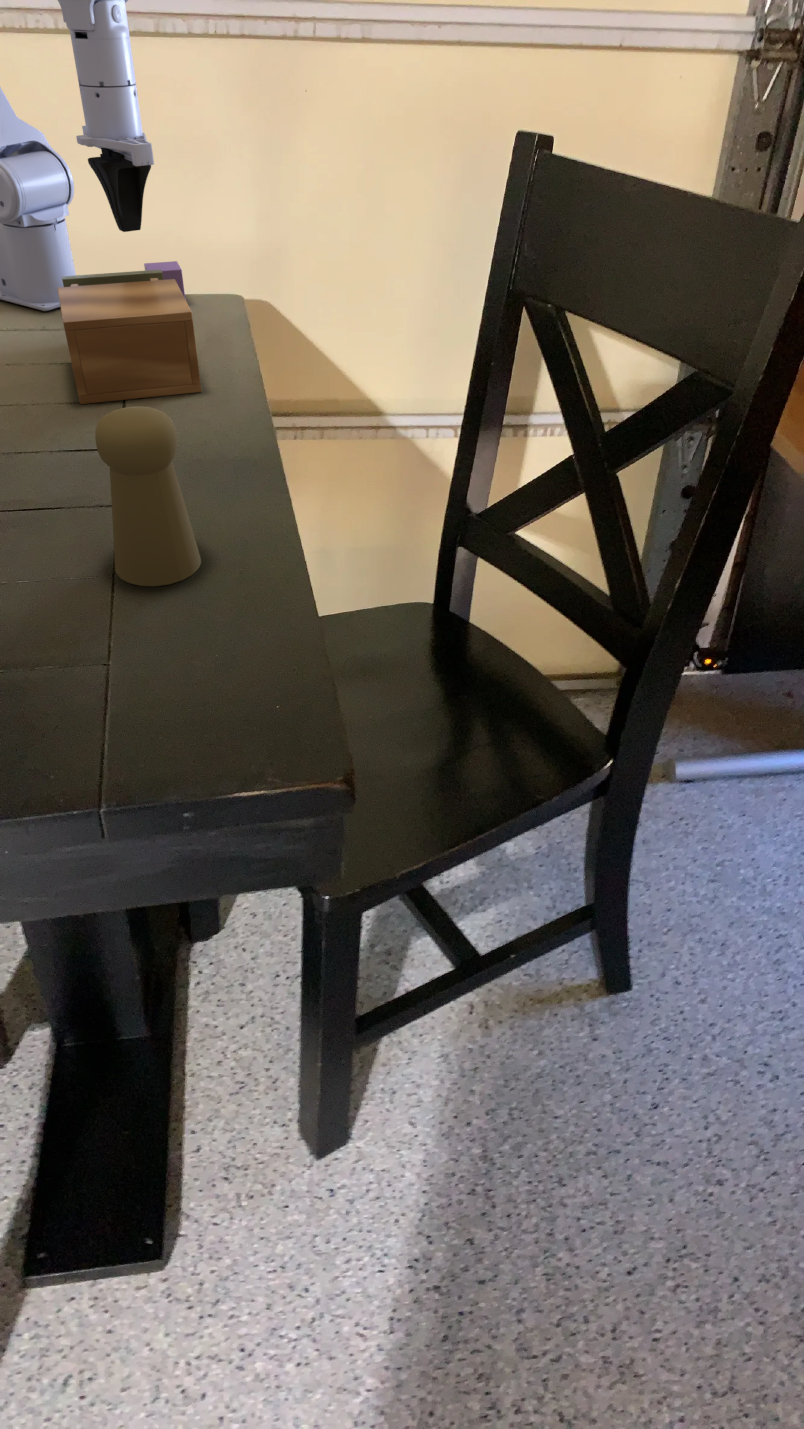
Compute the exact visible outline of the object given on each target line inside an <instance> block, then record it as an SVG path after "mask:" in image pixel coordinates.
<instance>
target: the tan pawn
mask: <svg viewBox="0 0 804 1429" xmlns="http://www.w3.org/2000/svg"><path fill="white" fill-rule="evenodd" d="M177 432H178V431H177V428H176V427H175V423H174V422H173V420H172V419H171V418H170V416H169V415H167V413H165V412H164V411H161V410H160V409H157V408H154V407H149V406H136V405H135V406H126V407H122V408H117V409H114V410H112V411H110V412H108V413H107V414H105V415H104V416H102V417H101V418H100V419H99V421H98V423H97V424H96V427H95V433H94V434H95V435H94V439H95V440H94V441H95V446H96V451H97V453H98V455H99V457H100V460H102V462H103V463H104V464H106V466H108V468H109V481H110V500H111V516H112V517H111V518H112V535H113V536H112V537H113V555H114V571H115V574H116V575H117V577H118V578H119V579H120V580H122V581H124V582H126V583H128V584H131V585H136V586H140V587H161V586H167V585H172V584H175V583H178V582H181V581H184V580H185V579H187V578H189V577H191V576H193V575H194V574H195V573H196V572H197V571H198V570H199V569H200V566H201V564H202V558H201V554H200V551H199V547H198V544H197V541H196V538H195V533H194V530H193V527H192V523H191V520H190V517H189V514H188V513H189V512H188V510H187V507H186V503H185V500H184V496H183V493H182V490H181V487H180V483H179V480H178V475H177V472H176V469H175V465H174V462H173V460H174V459H175V457H176V455H177V453H178V448H179V438H178V433H177Z"/></svg>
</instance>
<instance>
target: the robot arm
mask: <svg viewBox="0 0 804 1429" xmlns="http://www.w3.org/2000/svg"><path fill="white" fill-rule="evenodd" d="M128 1H129V0H57V2H58V4H59V6H60V9H61V15H62V19H63V23H65V24H66V28H67V29H68V30H69V33H70V35H69V36H70V40H71V41H70V42H71V46H72V47H71V48H72V52H73V58H74V64H75V69H76V71H75V72H76V75H77V82H78V88H79V95H80V98H81V99H80V100H81V106H82V111H83V117H84V118H83V119H84V124H85V125H81V130H82V133H83V134H80V135H76V136H75V138H76V142H77V144H78V145H81V146H85V147H87V148H93V147H95V148H97V149H100V150H101V151H100V152H101V153H100V154H99V156H92V157H89V158H87V162H88V165H89V166H90V168H91V169H92V171H93V172H94V174H95V176H96V177H97V179H98V181H99V183H100V185H101V187H102V190H103V191H104V194H105V197H106V199H107V202H108V204H109V207H110V210H111V213H112V216H113V219H114V221H115V224H116V226H117V228H118V230H119V231H120V232H122V233H127V232H135V231H140V230H141V229H142V222H143V221H142V220H143V204H144V203H143V202H144V195H145V188H146V184H147V179H148V177H149V173H150V171H151V169H152V166H153V165H155V160H154V159H155V158H154V152H153V146H152V145H153V144H152V142H149V141H148V140H147V136H146V133H145V132H144V131H143V125H142V117H141V116H142V115H141V110H140V103H139V95H138V89H137V81H136V71H135V64H134V58H133V52H132V51H133V50H132V44H131V36H130V28H129V21H128V14H127V7H126V4H127V3H128ZM72 174H73V173H72V171H71V168H70V167H69V165H68V163H67V162H66V161H65V159H64V158H63V157H62V155H61V154H59V153H58V152H57V151H56V150H55V149H54V148H53V147H52V146H51V144H50V142H49V141H48V140H47V138H46V136H45V134H44V133H43V132H42V131H41V130H39V129H37V128H36V127H34V126H33V125H31V124H29V123H27V122H25V121H24V120H23V119H21V118H19V117H18V116H17V114H16V112H15V110H14V108H13V107H12V105H11V103H10V101H9V100H8V98H7V96H6V94H5V93H4V91H3V88H2V87H1V86H0V301H5V302H9V303H13V304H15V305H20V306H24V307H28V308H32V309H35V310H38V311H43V312H48V311H51V310H54V309H58V308H61V307H60V301H59V295H58V289H57V288H58V287H64V286H63V281H62V276H76V275H77V272H76V268H75V263H74V256H73V252H72V247H71V241H70V236H69V231H68V226H67V220H66V217H67V216H69V215H70V212H69V207H68V206H70V205H71V203H72V201H73V200H74V194H75V182H74V177H73V175H72Z"/></svg>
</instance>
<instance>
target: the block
mask: <svg viewBox="0 0 804 1429" xmlns="http://www.w3.org/2000/svg"><path fill="white" fill-rule="evenodd" d="M143 266H144V271H147V270H161V271H162V274H163V280H168V279H175V281H176V283H177V284H178V286H179V288H180V290H181V292H182V294H183V296H184V298H185V299H186V294H185V286H184V278H183V277H184V276H183V270H182V268H181V266H180V263H179V262H178V261H177V260H176V261H162V262H161V261H159V262H145V263H143Z"/></svg>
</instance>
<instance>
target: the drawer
mask: <svg viewBox="0 0 804 1429" xmlns="http://www.w3.org/2000/svg"><path fill="white" fill-rule="evenodd" d="M155 280H163V274H162V271H161V270H147V271H145V270H133V271H122V272H120V271H119V272H107V273H105V272H104V273H92V274H79V275H77V274H76V276H62V281H63V286H64V287H72V286H86V285H99V284H113V283H127V282H141V281H155Z"/></svg>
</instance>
